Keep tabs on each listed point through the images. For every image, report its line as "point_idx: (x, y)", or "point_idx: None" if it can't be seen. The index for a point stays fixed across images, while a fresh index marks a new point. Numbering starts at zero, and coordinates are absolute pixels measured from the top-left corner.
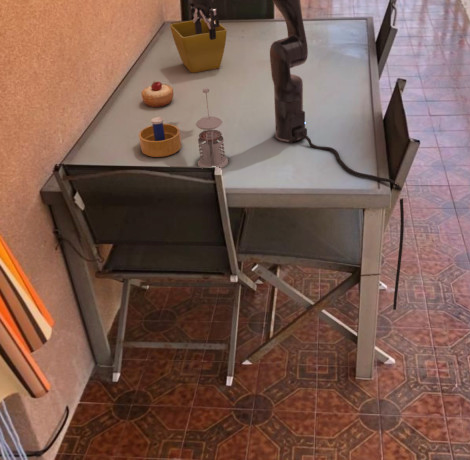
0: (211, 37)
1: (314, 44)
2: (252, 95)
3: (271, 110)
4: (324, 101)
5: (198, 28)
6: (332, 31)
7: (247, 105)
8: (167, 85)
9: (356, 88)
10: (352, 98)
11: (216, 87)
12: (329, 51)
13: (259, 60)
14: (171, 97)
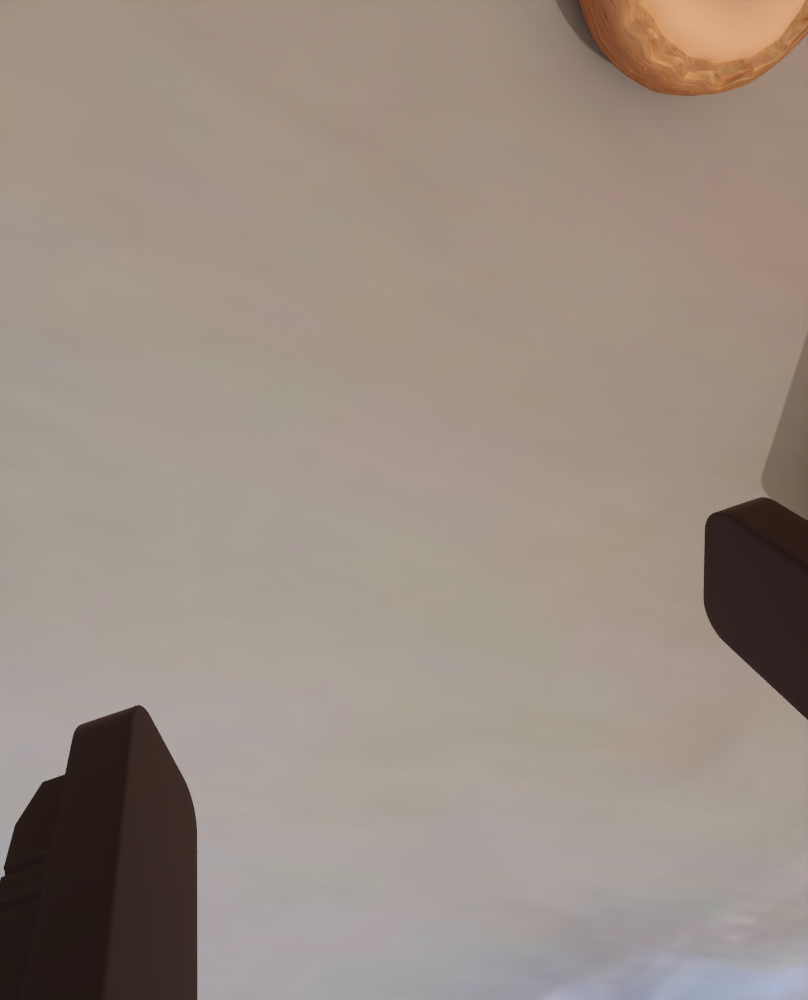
0: (82, 783)
1: (723, 918)
2: (389, 594)
3: (120, 636)
4: None
5: (801, 629)
6: (772, 977)
7: (264, 532)
8: (757, 67)
9: (208, 995)
10: None
11: (618, 443)
12: (626, 952)
13: (753, 719)
14: (600, 42)
